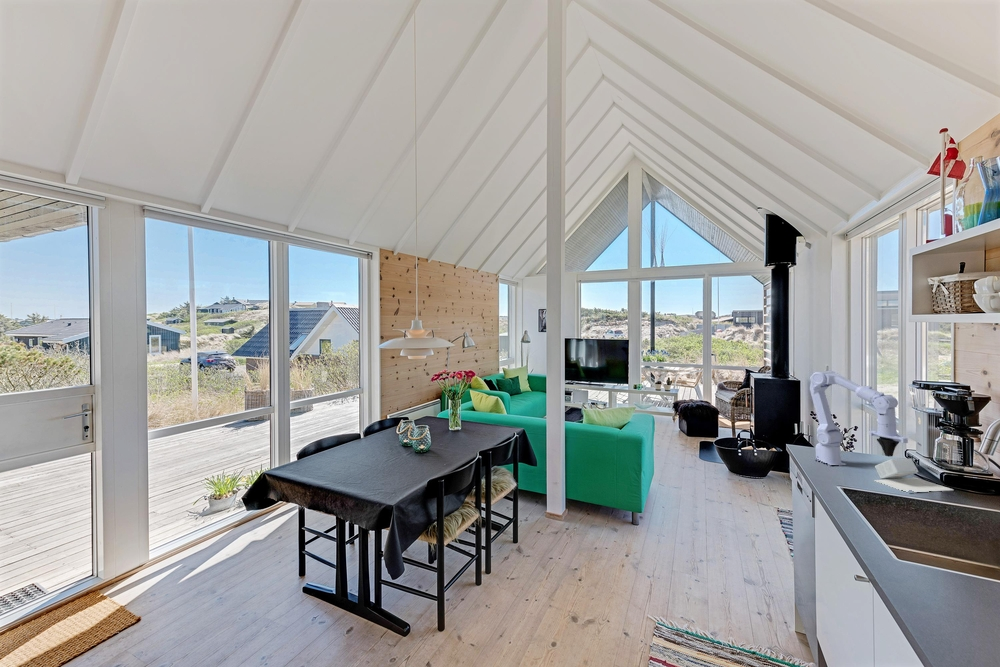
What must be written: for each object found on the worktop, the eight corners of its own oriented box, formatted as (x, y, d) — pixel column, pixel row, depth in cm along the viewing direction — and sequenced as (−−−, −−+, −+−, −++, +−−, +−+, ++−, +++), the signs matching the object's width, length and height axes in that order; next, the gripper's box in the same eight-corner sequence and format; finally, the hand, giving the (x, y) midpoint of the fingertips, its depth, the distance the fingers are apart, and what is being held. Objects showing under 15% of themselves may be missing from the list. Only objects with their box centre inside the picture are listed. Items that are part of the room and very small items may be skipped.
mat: (874, 481, 169) (874, 480, 169) (914, 478, 170) (914, 477, 170) (909, 493, 155) (909, 492, 155) (953, 490, 156) (953, 489, 156)
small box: (893, 465, 173) (912, 458, 165) (900, 478, 170) (919, 472, 162) (873, 465, 174) (890, 458, 165) (880, 479, 171) (898, 472, 162)
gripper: (913, 426, 165) (916, 460, 164) (878, 420, 179) (880, 450, 179) (897, 428, 164) (899, 461, 164) (863, 421, 179) (865, 451, 178)
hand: (888, 456), depth 171 cm, fingers closed
